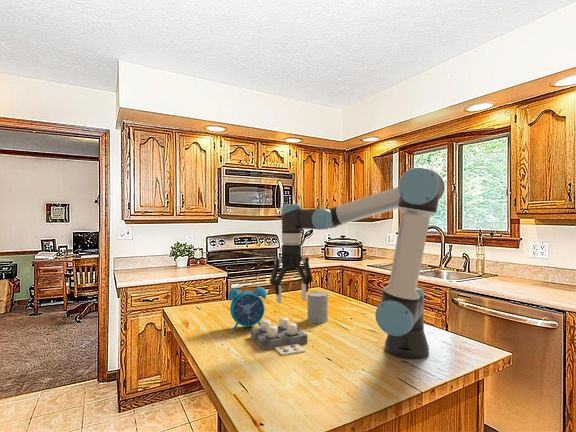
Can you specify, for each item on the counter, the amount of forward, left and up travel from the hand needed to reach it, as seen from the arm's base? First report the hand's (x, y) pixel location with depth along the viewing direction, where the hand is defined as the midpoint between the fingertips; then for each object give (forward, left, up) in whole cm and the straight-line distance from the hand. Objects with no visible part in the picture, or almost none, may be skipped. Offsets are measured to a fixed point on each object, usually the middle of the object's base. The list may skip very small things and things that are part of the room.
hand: (291, 301), depth 136 cm
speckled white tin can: (+21, -22, -16) cm, 34 cm away
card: (-8, +4, -16) cm, 18 cm away
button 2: (0, +8, -12) cm, 15 cm away
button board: (+4, +4, -16) cm, 17 cm away
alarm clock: (+23, +11, -16) cm, 30 cm away
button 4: (0, 0, -12) cm, 12 cm away
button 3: (+8, 0, -12) cm, 15 cm away
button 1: (+8, +8, -12) cm, 17 cm away
